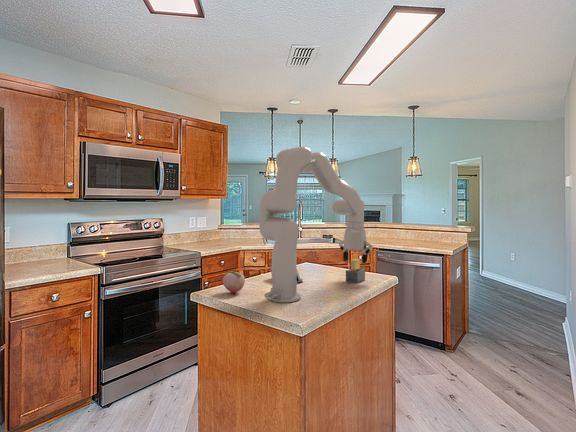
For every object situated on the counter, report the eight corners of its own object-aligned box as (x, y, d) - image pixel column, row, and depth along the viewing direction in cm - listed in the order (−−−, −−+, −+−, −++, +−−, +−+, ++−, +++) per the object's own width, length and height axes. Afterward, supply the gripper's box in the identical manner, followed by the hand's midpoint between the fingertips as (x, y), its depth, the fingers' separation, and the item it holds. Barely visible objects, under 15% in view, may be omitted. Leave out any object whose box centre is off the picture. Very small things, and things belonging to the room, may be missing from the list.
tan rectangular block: (355, 281, 158) (355, 260, 158) (350, 281, 159) (350, 260, 159) (359, 280, 161) (359, 259, 161) (355, 279, 163) (355, 258, 162)
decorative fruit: (249, 292, 141) (249, 268, 141) (237, 297, 134) (236, 272, 134) (232, 289, 146) (231, 266, 145) (219, 293, 139) (218, 269, 138)
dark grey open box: (357, 283, 156) (357, 272, 155) (345, 281, 159) (345, 270, 159) (365, 279, 162) (365, 269, 162) (353, 278, 166) (353, 267, 165)
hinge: (303, 282, 157) (298, 263, 155) (297, 287, 154) (291, 268, 152) (279, 276, 169) (274, 258, 167) (272, 281, 166) (267, 263, 164)
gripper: (335, 225, 162) (335, 260, 162) (369, 226, 151) (368, 265, 151) (343, 224, 167) (342, 258, 168) (376, 226, 157) (375, 262, 157)
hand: (354, 261), depth 160 cm, fingers open, 9 cm apart
